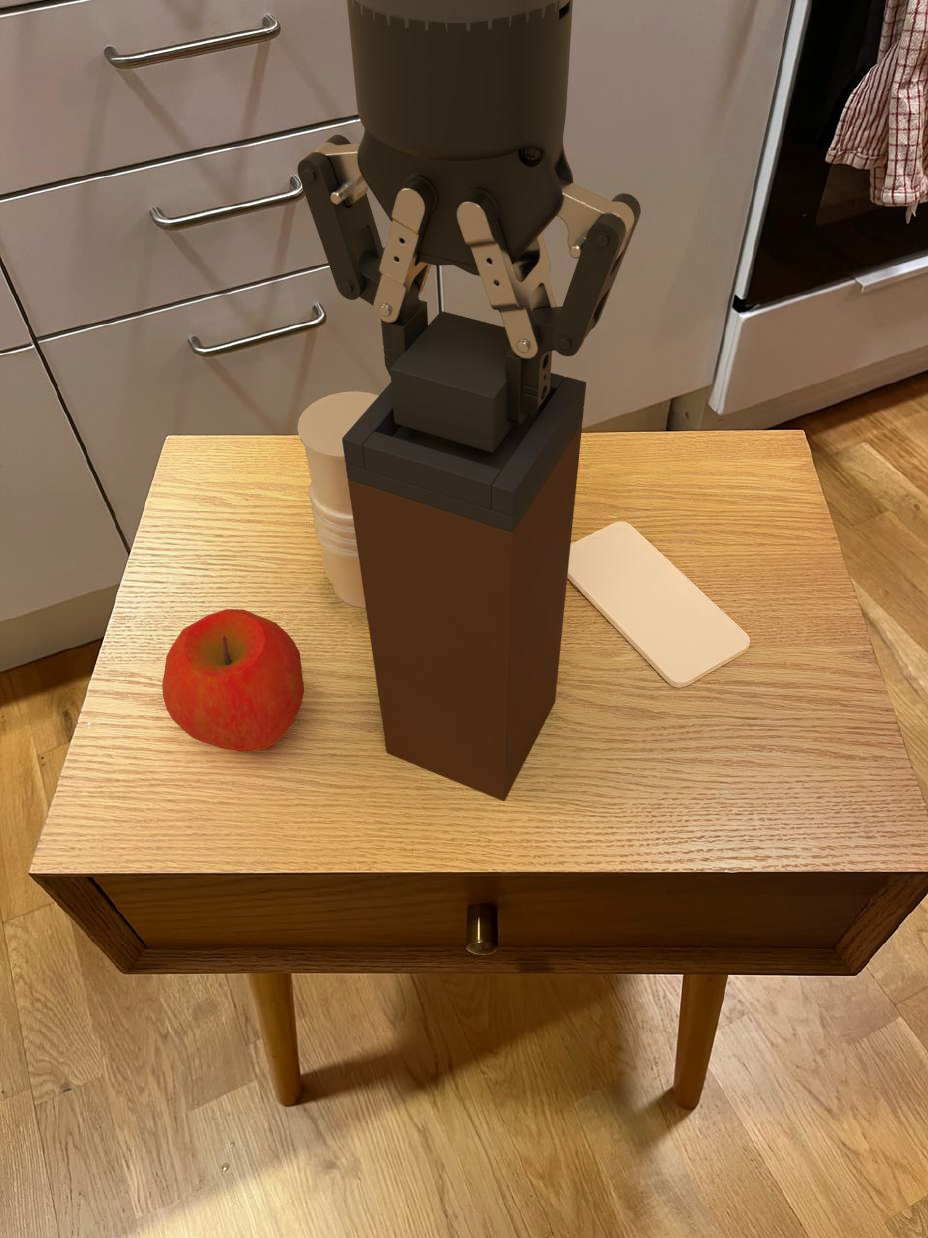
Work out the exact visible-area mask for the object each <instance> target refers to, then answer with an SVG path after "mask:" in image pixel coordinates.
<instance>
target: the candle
mask: <svg viewBox="0 0 928 1238" xmlns="http://www.w3.org/2000/svg"><path fill="white" fill-rule="evenodd" d="M378 396H379V394H376V393H375V394H374V393H373V392H365V391H356V390H355V391H343V392H336V393H332V394H329V395H326V396H324V397H321V398H320V399H317V400H316V401H314V402H313V403H312V402H311V404H309V406H307V407H306V408H305V410H303V412H302V413H301V414H300V417H299V418H298V422H297V434H298V437H299V438H298V439H299V440H300V443H301V444H302V445H303V447H304V449H305V450H304V451H305V455H306V460H307V461H306V462H307V465H308V471H309V477H310V483H309V488H308V497H309V502H310V507H311V508H310V509H311V512H312V518H313V524H314V527H315V528H314V530H315V534H316V539H317V542H318V543H319V545H320V546H321V559H322V568H323V572H324V574H325V576H326V578H327V579H328V581H329V582H330V583H331V585H332V591H333V592H334V593H335V595H336V597H338V599H339V600H341V601H342V602H343V603H345V604H347V605H349V606H352V607H357V608H362V609H366V605H365V598H364V591H363V584H362V577H361V570H360V563H359V556H358V549H357V542H356V535H355V528H354V521H353V514H352V507H351V500H350V493H349V486H348V478H347V471H346V463H345V457H344V450H343V443H342V438H343V437H344V435H345V434H346V433H347V432H348V431H349V430H350V428H351V427H352V426H353V425H354V424H355V423H356V422H357V420H358V419H359V418H360V417H361V416H362V415H363V414H364V412H365V411H366V410H367V409H368V408H369V407H370V405H371V404H372V403H373V402H374V401H375V400H376V399H377V397H378Z"/></svg>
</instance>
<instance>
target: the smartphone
mask: <svg viewBox="0 0 928 1238" xmlns="http://www.w3.org/2000/svg"><path fill="white" fill-rule="evenodd" d="M567 580H569V581H570V583H572V584H573V585H574V586H575V587H576V588H577V590H579V591H580V593H582V595H583V596H584V597H585V598H586V599H587V600H588V601H589V602H590V603H591V604H592V605H593V607H595V608H596V609H597V611H598V612H600V613H601V614H602V615H603V617H604V618H605V619H606V620H607V621H608V623H610V624H611V625H612V626H613V627H614V628H615V630H617V631H618V632H619V634H621V635H622V637H623V638H624V639H625V640H626V641H627V642H628V643H629V644H630V645H631V646H632V647H633V648H634V649H635V650H636V651H637V652H638V653H639V654H640V655H641V657H642V658H644V660H646V662H647V663H648V664H650V666H651V667H652V668H653V669H654V671H656V672H657V673H658V674H659V675H660V676H661V678H662V679H663V680H664V681H665V682H667V683H668V684H669V685H670V686H672V687H674V688H676V689H677V688H679V689H682V688H686V687H687V686H690V685H691V684H693V683H695V682H696V681H698V680H700V679H701V678H704V677H705V676H707V675H708V674H710V673H712V672H714V671H716V670H718V669H719V668H721V667H723V666H725V665H726V664H728V663H729V662H731V661H733V660H735V659H736V658H738V657H739V656H741V655H743V654H744V653H746V652H747V651H748V649H749V648H750V645H751V638H750V636H749V635H748V634H747V632H746V631H744V630H743V629H742V628H741V626H739V625H738V624H737V623H736V622H735V621H734V620H733V619H731V617H730V616H729V615H727V613H726V612H725V611H723V610H722V609H721V608H720V607H719V606H718V605H717V604H716V603H715V602H714V601H713V600H712V599H711V598H710V597H708V596H707V595H706V594H705V593H704V592H703V591H702V590H701V589H700V588H699V587H698V586H697V585H695V583H693V582H692V581H691V580H690V579H689V578H688V577H687V576H686V575H685V574H684V573H683V572H682V571H681V570H679V568H678V567H677V566H676V565H674V564H673V563H672V562H671V561H670V560H669V559H668V558H667V557H666V556H665V555H664V554H662V552H660V551H659V550H658V549H657V548H656V547H655V546H654V545H653V544H652V543H651V542H650V541H649V540H647V538H645V537H644V536H643V535H642V534H641V533H640V532H639V530H637V529H636V528H635V527H634V526H633V525H632V524H630V523H629V522H626V521H622V520H621V521H616V522H613V523H611V524H609V525H606V526H604V527H602V528H601V529H599V530H597V531H594V532H593V533H590V534H589V535H586V536H584V537H582V538H580V539H578V540H575V541H574V542H571V545H570V556H569V566H568V576H567Z"/></svg>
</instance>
